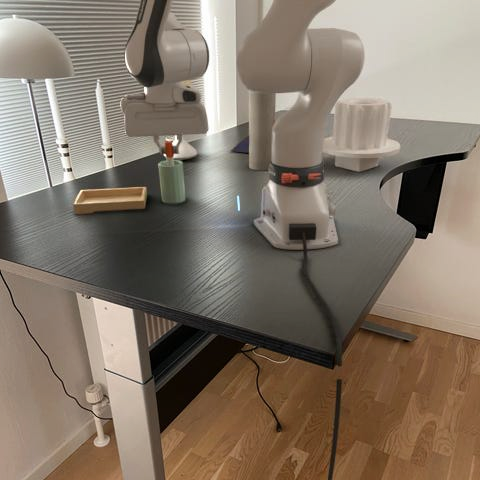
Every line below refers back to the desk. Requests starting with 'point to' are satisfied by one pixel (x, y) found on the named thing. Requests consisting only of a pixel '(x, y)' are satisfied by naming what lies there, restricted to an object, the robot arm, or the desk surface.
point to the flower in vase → (184, 149)
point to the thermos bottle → (260, 129)
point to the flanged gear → (360, 133)
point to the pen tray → (110, 199)
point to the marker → (169, 153)
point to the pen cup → (172, 182)
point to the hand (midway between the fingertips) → (169, 153)
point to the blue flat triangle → (242, 146)
